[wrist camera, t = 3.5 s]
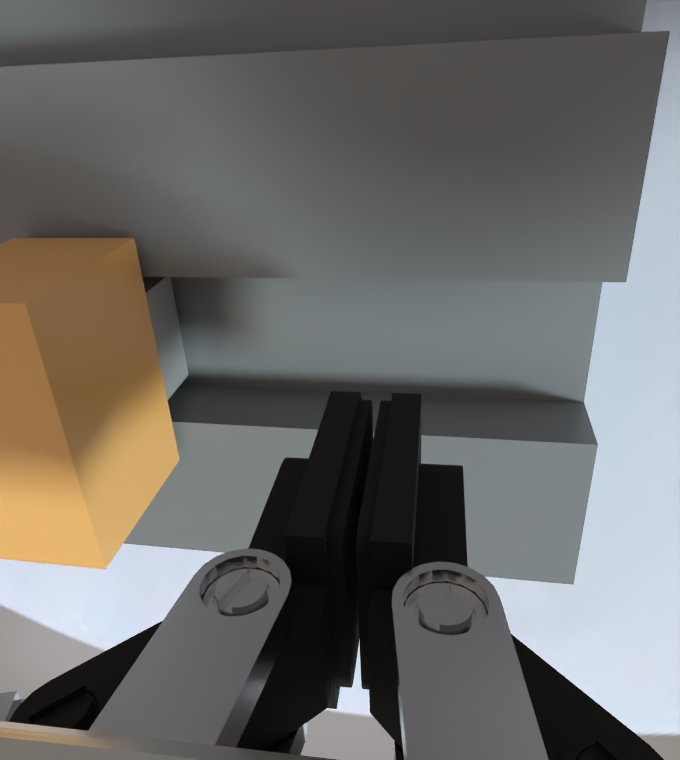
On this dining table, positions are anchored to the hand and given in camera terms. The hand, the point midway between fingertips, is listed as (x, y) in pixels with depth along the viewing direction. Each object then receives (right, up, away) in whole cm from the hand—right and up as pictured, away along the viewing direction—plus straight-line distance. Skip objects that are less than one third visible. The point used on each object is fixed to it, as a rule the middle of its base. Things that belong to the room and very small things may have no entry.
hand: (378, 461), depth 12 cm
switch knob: (-6, +3, +6) cm, 9 cm away
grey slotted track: (-6, +4, +8) cm, 10 cm away
